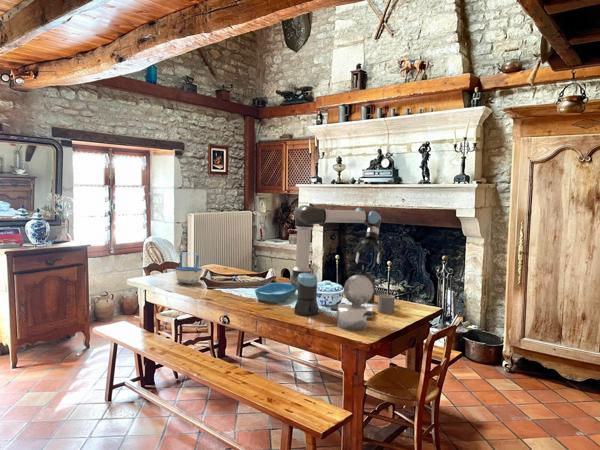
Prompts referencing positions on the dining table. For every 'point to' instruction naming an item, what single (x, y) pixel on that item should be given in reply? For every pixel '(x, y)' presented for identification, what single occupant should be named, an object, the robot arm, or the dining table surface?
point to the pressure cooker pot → (352, 317)
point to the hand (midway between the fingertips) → (366, 262)
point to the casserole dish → (275, 292)
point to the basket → (188, 272)
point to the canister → (372, 279)
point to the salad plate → (363, 306)
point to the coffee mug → (386, 304)
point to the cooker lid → (358, 290)
